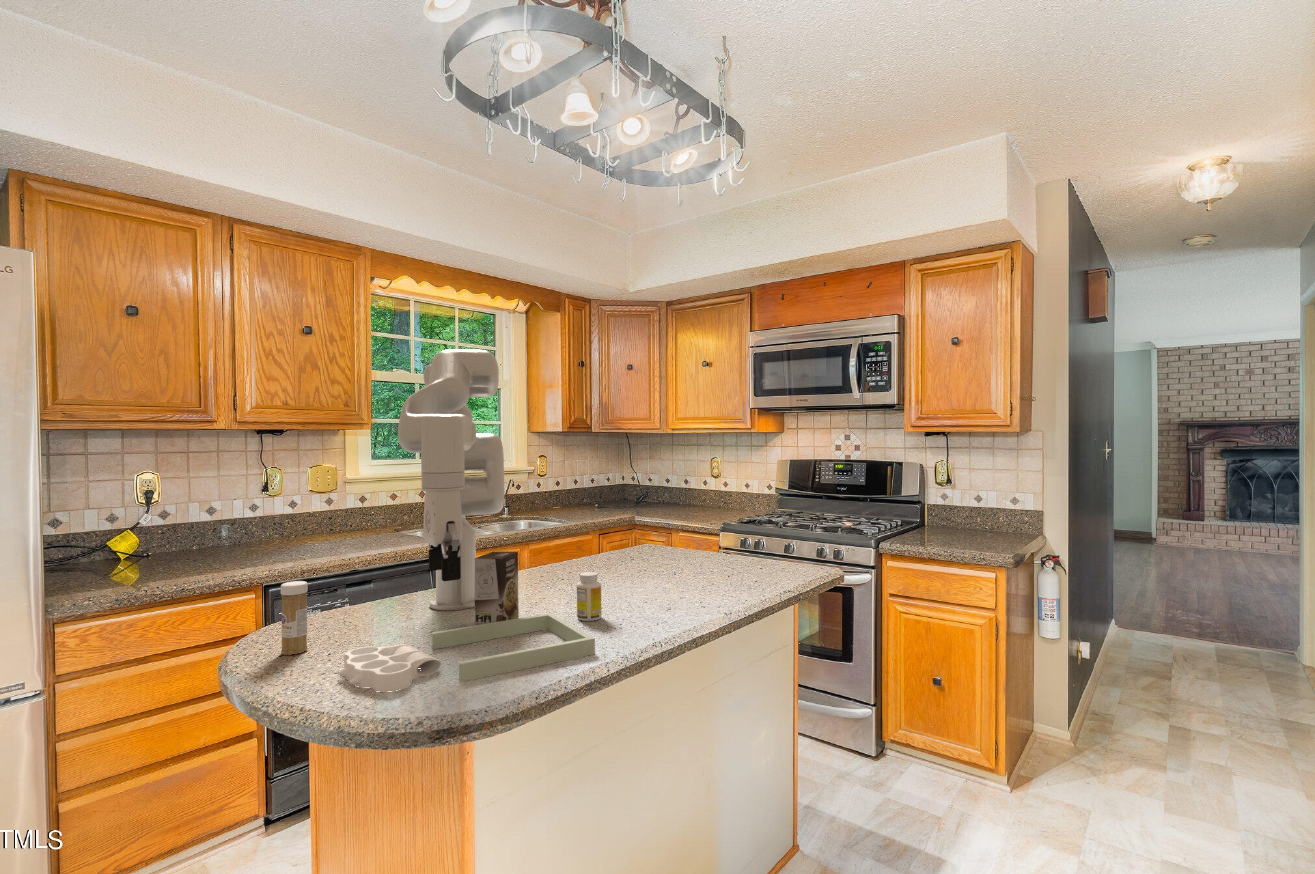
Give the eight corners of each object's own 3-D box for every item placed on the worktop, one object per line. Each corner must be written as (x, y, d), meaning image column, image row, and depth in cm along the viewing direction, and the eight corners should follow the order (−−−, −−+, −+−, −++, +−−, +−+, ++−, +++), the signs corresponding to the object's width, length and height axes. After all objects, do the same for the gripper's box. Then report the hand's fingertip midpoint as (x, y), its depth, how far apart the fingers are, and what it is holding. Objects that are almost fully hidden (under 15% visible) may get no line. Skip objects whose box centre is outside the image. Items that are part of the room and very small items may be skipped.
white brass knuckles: (449, 678, 112) (363, 703, 102) (404, 654, 125) (323, 674, 115) (449, 658, 112) (363, 682, 102) (404, 637, 125) (323, 655, 115)
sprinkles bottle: (275, 654, 125) (275, 584, 125) (296, 647, 129) (296, 579, 129) (292, 657, 123) (292, 586, 123) (313, 649, 127) (312, 581, 127)
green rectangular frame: (431, 647, 128) (431, 632, 128) (551, 626, 141) (551, 613, 141) (460, 681, 110) (460, 664, 110) (594, 654, 123) (594, 638, 123)
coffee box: (502, 636, 135) (501, 558, 135) (473, 634, 136) (472, 557, 136) (520, 623, 144) (519, 551, 144) (493, 622, 145) (492, 550, 145)
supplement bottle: (602, 615, 150) (602, 571, 150) (600, 622, 144) (599, 576, 144) (578, 615, 150) (578, 571, 150) (575, 622, 145) (574, 576, 145)
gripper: (412, 479, 124) (413, 568, 124) (433, 486, 109) (434, 587, 110) (451, 477, 128) (452, 563, 128) (477, 484, 113) (478, 581, 114)
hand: (444, 574), depth 119 cm, fingers open, 9 cm apart
